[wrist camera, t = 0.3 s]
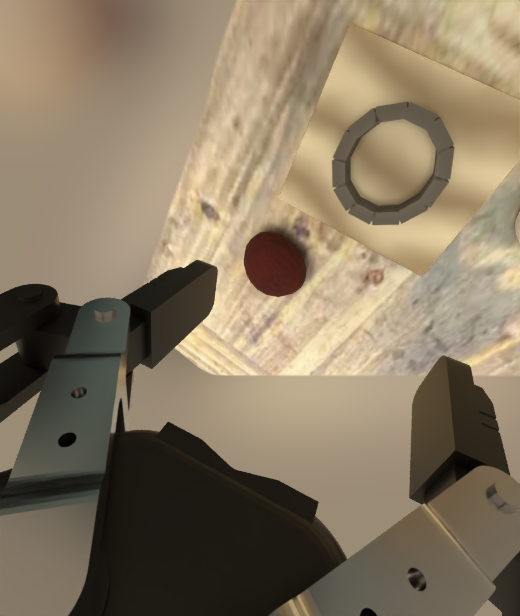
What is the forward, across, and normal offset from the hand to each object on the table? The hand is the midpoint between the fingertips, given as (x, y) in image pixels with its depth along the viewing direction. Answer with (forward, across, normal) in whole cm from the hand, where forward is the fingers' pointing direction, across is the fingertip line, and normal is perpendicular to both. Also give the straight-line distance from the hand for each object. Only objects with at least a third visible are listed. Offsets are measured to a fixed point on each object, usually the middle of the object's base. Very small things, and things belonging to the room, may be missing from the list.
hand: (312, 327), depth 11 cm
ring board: (+28, 0, -2) cm, 28 cm away
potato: (+28, +9, +12) cm, 32 cm away
